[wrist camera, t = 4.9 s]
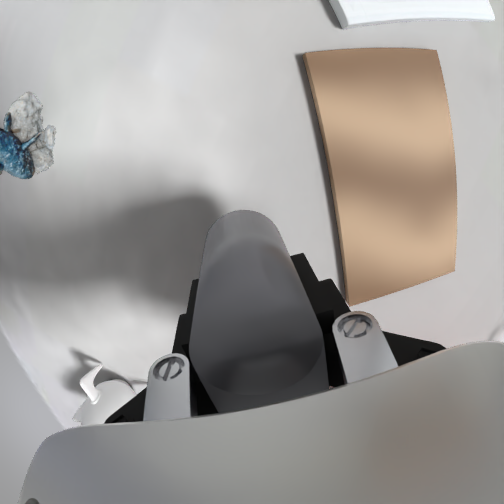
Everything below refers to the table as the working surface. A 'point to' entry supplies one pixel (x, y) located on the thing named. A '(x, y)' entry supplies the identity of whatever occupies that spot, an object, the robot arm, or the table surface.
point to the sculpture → (26, 139)
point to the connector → (253, 319)
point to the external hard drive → (409, 11)
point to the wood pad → (387, 165)
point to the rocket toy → (101, 398)
